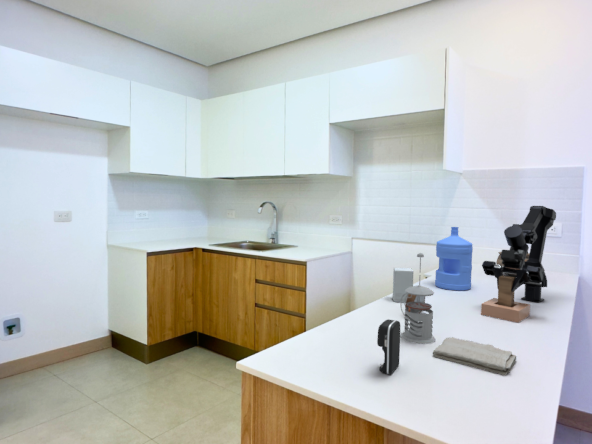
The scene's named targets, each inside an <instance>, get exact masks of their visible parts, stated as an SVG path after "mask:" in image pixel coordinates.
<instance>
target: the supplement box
mask: <svg viewBox="0 0 592 444" xmlns="http://www.w3.org/2000/svg"><path fill="white" fill-rule="evenodd" d="M392 275H393V278H392V279H393V280H392V281H393V282H392V300H393V303H394V302H395V303H404V304H406V303H405V298H406V300H407V297H406V296H407V294H408V293H407V292H406V291H405V290H406V289H407V288H409V287H412V286H414V270H413V269H412V268H410V267H407V268H406V267H393V274H392ZM406 293H407V294H406ZM404 294H405V295H404ZM403 295H404V296H403ZM408 295H409V294H408ZM402 296H403V298H402ZM401 298H402V300H401Z"/></svg>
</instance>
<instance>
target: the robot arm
mask: <svg viewBox="0 0 592 444" xmlns="http://www.w3.org/2000/svg"><path fill="white" fill-rule="evenodd" d="M556 219H557V211H555V210H554V209H552V208H549V207H546V206H544V205H532V206H530V207H529V211H528V212H527V215H526V217H525V219H524V220H523V222H522V223H521V224H520V223H518V224H517V223H513V224H512V225H511V226H508V227H507V228H506V229H504V231H503V234H504V237H505V240H506V243H507V246H509V249H501V251H500V252H501V257H500V258H501V259H502V264H504V266H501V265H497V263H496V262H497V261H491V260H484V261H483V262H482V265H481V267H482V270H483V272H484V274H485V275H486V276H491V277H494V278H495V279H496V284H497V288H498V284H499V277H500V276H504V274H505V273H510V274H516V277H515V280H514V283H513V285H512V288H511V291H512V292H513V291H514V292H515V291H516V290H517V289H518V288H519V287H521V286H522V285H524V296H523V297H521V298H520V299H521V300H523V301H528V302H534V303H541V302H543V301H545V298H542V288H548V279H547V275H546V272H545V268H544V266H543V264H542V261H543V256H544V251H545V245H546V244H545V243H546V239H547V232H548V230H550V228H552V227H553V226H554V222H555V220H556ZM529 245H530V250H529ZM528 253H530V254H529V259H528V260H527V261H525V258H526V255H527V254H528Z"/></svg>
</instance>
